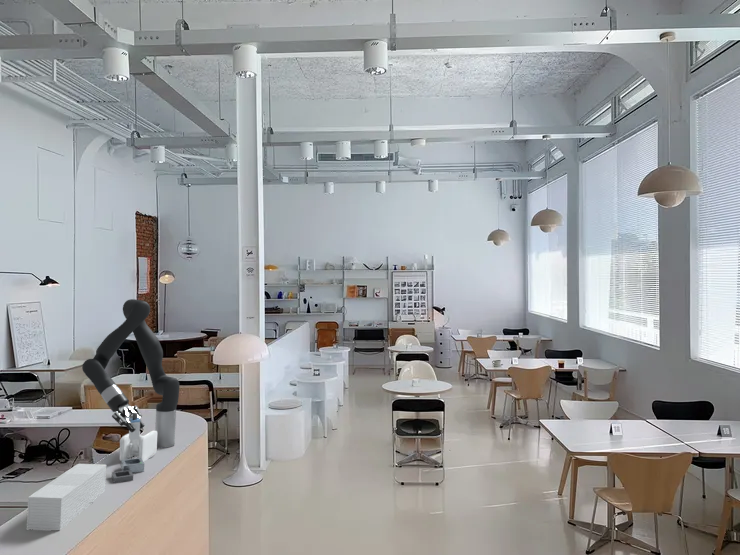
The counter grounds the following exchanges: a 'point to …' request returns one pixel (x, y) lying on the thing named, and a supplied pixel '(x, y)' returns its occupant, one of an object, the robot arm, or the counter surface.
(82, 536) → the counter surface
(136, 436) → the plug
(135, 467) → the port
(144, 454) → the cable organizer
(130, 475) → the holster
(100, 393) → the robot arm
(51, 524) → the stack of papers
